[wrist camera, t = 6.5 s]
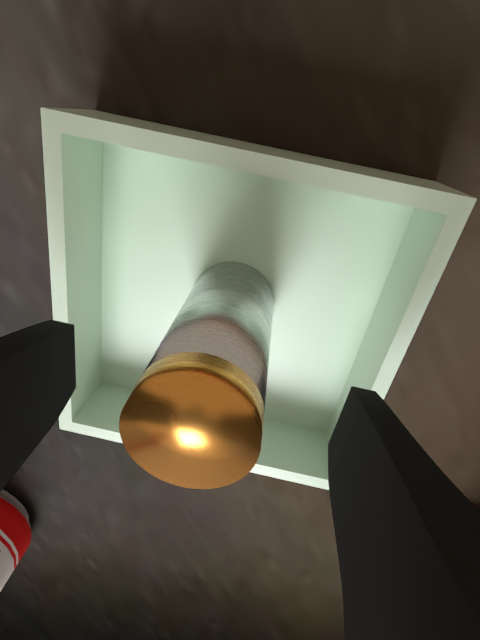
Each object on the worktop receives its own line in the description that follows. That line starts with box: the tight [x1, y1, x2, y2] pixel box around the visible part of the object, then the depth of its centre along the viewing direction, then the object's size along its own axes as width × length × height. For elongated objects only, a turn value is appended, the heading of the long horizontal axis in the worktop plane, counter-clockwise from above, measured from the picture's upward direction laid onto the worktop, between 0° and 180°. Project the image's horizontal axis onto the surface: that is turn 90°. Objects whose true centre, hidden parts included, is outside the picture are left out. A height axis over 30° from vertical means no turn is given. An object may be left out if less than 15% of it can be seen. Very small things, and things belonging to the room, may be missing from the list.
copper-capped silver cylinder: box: [119, 261, 274, 489], centre depth 11 cm, size 3×3×7 cm
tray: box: [41, 107, 477, 490], centre depth 13 cm, size 11×11×3 cm
